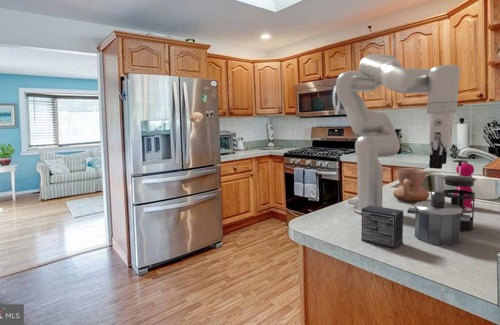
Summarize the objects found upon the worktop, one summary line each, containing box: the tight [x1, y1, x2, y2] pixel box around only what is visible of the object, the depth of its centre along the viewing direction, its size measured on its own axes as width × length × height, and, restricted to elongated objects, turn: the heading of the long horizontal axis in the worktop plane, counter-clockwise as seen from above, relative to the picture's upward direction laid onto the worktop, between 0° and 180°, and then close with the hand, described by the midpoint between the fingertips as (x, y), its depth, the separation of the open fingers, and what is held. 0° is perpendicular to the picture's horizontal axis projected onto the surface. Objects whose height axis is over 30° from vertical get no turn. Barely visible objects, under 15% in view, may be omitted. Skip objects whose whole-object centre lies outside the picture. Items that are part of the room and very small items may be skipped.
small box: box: [360, 205, 404, 250], centre depth 93 cm, size 11×6×10 cm, turn 44°
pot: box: [406, 207, 471, 247], centre depth 94 cm, size 16×12×9 cm
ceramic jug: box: [392, 167, 430, 203], centre depth 137 cm, size 18×14×14 cm
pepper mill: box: [452, 158, 475, 209], centre depth 124 cm, size 7×7×20 cm
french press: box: [442, 159, 476, 232], centre depth 102 cm, size 12×9×23 cm
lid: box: [414, 190, 462, 216], centre depth 93 cm, size 12×12×6 cm
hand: (437, 165), depth 92 cm, fingers open, 9 cm apart
